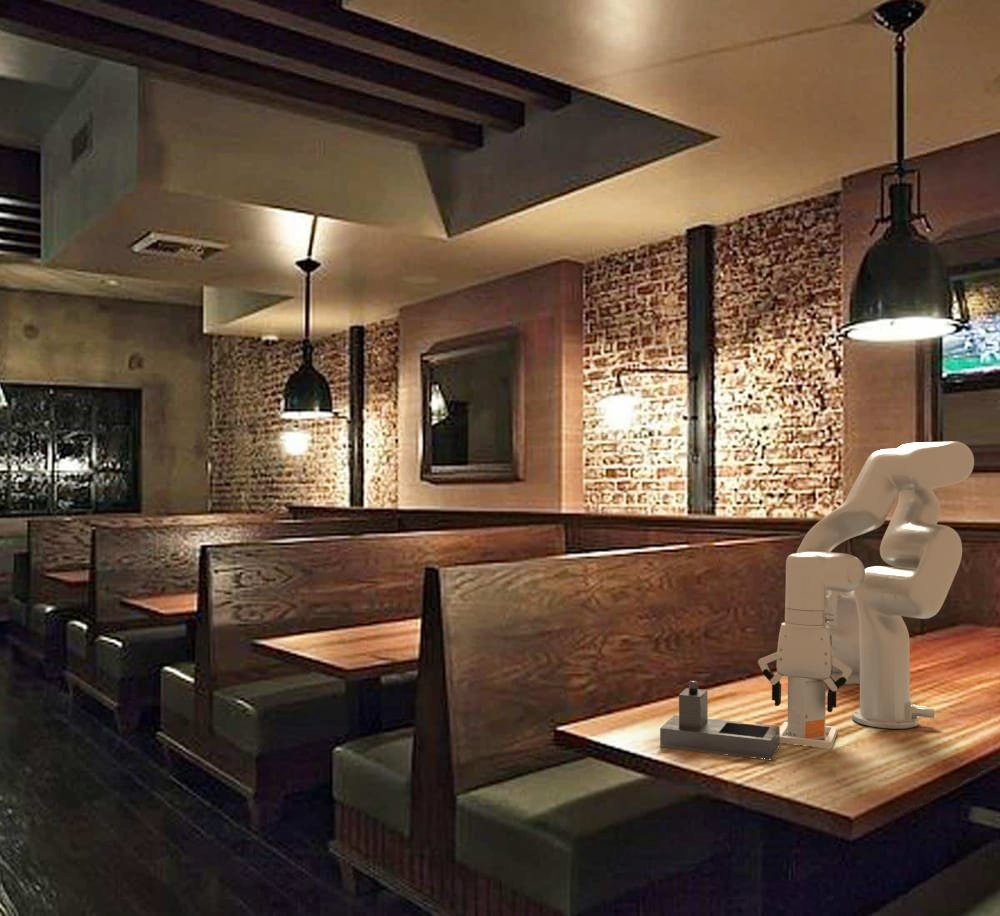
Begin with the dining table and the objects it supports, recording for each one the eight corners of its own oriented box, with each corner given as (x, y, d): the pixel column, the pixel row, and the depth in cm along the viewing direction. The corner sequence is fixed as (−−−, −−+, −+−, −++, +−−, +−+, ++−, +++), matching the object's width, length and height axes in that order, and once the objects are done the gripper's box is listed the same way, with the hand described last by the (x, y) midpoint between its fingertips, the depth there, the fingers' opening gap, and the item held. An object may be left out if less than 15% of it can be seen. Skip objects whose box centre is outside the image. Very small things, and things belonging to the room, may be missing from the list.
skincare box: (803, 742, 181) (803, 679, 181) (787, 737, 185) (786, 674, 185) (826, 738, 184) (826, 675, 184) (810, 733, 188) (809, 671, 188)
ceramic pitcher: (885, 697, 222) (894, 590, 222) (797, 684, 229) (805, 580, 228) (882, 679, 242) (890, 581, 242) (802, 667, 249) (809, 572, 249)
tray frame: (837, 732, 188) (837, 726, 188) (831, 749, 177) (831, 742, 177) (784, 727, 192) (784, 721, 192) (775, 742, 181) (775, 736, 181)
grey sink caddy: (779, 745, 179) (779, 683, 179) (770, 760, 170) (770, 695, 170) (674, 733, 188) (674, 674, 188) (660, 746, 178) (659, 684, 178)
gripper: (854, 619, 184) (853, 709, 184) (762, 612, 191) (760, 698, 191) (851, 624, 177) (849, 717, 177) (756, 616, 185) (754, 706, 184)
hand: (803, 707), depth 184 cm, fingers open, 9 cm apart
